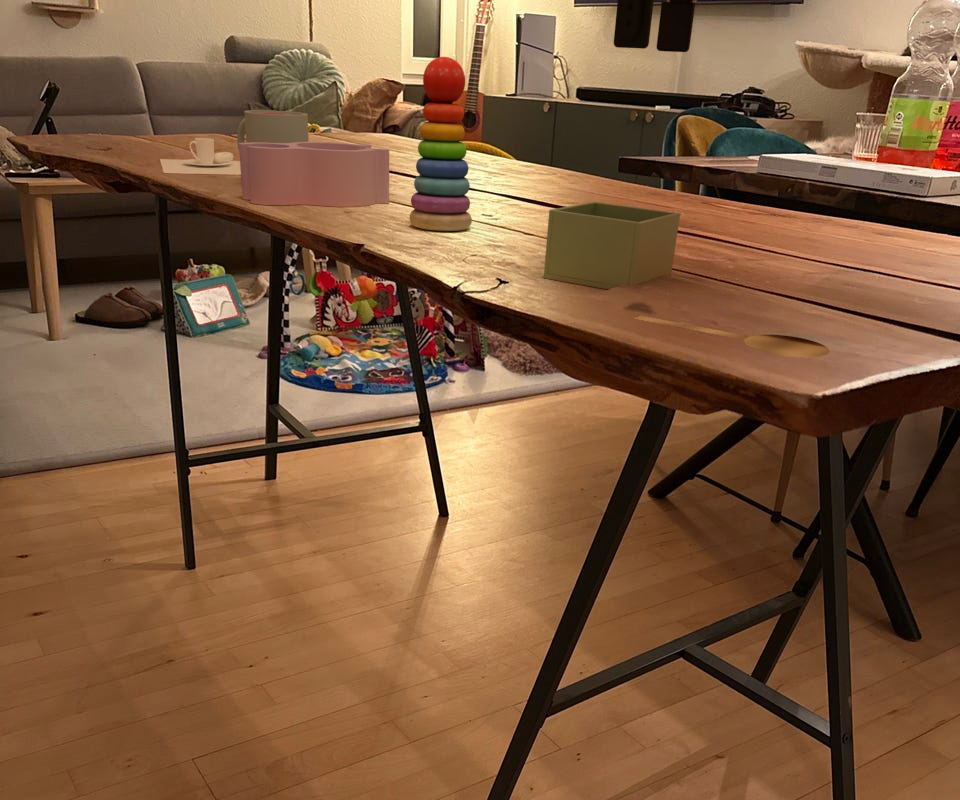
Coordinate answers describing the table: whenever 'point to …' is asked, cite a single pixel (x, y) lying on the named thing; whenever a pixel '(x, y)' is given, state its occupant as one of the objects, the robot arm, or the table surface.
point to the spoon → (761, 341)
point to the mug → (273, 127)
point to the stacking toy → (442, 153)
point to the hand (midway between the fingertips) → (652, 49)
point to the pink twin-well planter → (314, 174)
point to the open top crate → (609, 244)
